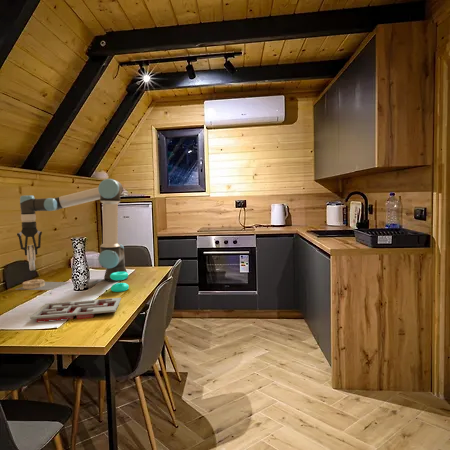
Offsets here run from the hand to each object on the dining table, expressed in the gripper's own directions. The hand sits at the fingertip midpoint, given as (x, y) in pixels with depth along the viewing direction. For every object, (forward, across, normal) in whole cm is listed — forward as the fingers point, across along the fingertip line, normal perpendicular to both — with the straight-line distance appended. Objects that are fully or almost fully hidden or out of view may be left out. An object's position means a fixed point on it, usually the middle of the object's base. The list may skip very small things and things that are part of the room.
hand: (31, 260), depth 204 cm
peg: (+6, 0, 0) cm, 6 cm away
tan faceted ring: (+16, 0, 0) cm, 16 cm away
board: (+17, -5, +2) cm, 18 cm away
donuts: (+17, -43, +36) cm, 59 cm away
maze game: (+18, -18, +66) cm, 70 cm away
